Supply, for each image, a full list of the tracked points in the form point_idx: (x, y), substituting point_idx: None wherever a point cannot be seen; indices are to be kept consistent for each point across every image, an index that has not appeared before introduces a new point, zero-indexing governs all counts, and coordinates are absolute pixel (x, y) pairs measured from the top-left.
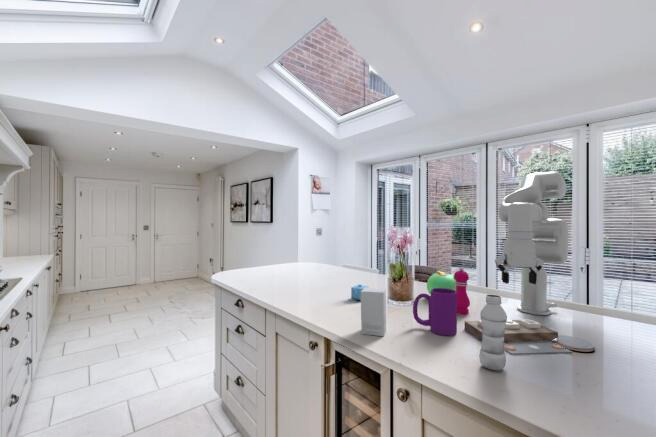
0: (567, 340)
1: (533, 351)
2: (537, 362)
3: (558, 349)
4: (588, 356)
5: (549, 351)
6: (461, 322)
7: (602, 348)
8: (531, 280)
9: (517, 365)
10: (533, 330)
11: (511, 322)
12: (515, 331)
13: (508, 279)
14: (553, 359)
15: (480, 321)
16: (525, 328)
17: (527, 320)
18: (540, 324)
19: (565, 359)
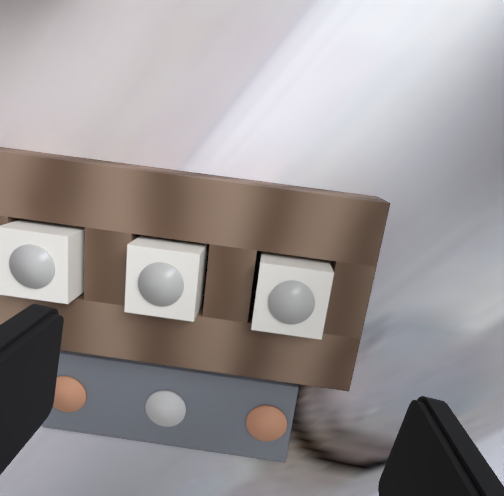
0: (394, 369)
1: (136, 431)
2: (94, 480)
3: (249, 438)
4: (313, 487)
5: (197, 444)
6: (34, 37)
7: None
8: (405, 477)
9: (14, 480)
10: (248, 349)
11: (165, 297)
12: (146, 341)
13: (7, 455)
14: (166, 477)
15: (1, 241)
16: (231, 318)
17: (288, 288)
18: (320, 338)
19: (208, 485)
